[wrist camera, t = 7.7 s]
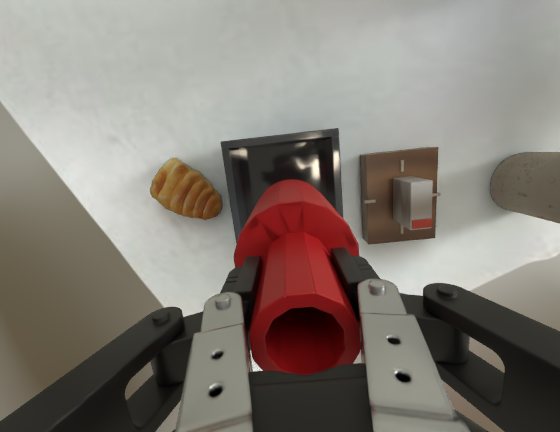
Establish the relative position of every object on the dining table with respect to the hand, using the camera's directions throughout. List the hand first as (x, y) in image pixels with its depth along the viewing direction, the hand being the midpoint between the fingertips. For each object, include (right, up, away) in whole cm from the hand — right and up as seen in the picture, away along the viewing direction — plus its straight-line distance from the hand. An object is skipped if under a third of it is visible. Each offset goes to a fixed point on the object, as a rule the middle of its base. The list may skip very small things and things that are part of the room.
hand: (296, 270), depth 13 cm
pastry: (-14, +7, +24) cm, 28 cm away
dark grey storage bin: (0, +6, +24) cm, 24 cm away
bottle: (0, +3, +12) cm, 12 cm away
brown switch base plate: (+15, +6, +24) cm, 29 cm away
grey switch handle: (+15, +5, +21) cm, 26 cm away
